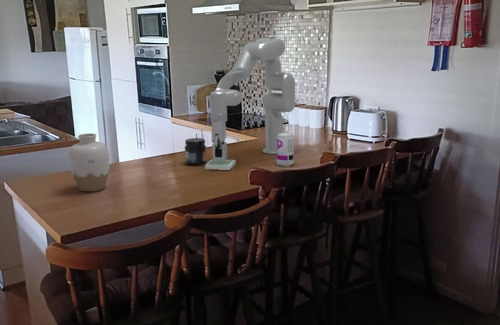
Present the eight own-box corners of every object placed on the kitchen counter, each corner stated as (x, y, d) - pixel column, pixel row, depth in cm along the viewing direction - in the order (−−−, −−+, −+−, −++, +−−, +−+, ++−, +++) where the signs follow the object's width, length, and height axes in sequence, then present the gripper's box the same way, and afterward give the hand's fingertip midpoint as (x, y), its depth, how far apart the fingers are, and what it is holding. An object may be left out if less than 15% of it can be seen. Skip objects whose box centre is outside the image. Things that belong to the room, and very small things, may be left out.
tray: (211, 163, 239) (211, 159, 238) (235, 164, 237) (235, 159, 236) (205, 170, 228) (204, 165, 227) (230, 171, 225) (229, 166, 225)
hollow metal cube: (215, 157, 234) (215, 141, 232) (227, 157, 233) (226, 142, 231) (212, 159, 229) (212, 144, 227) (224, 160, 228) (223, 144, 226)
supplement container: (209, 161, 244) (208, 138, 241) (202, 166, 234) (201, 142, 231) (190, 160, 247) (189, 137, 244) (182, 165, 237) (180, 141, 234)
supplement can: (280, 167, 230) (279, 136, 227) (274, 163, 238) (274, 133, 234) (296, 165, 232) (296, 135, 229) (290, 161, 240) (290, 132, 236)
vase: (98, 181, 213) (93, 130, 208) (119, 187, 203) (115, 133, 198) (64, 190, 201) (58, 136, 196) (86, 197, 192) (80, 140, 186)
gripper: (215, 115, 235) (217, 151, 240) (206, 120, 219) (207, 159, 223) (230, 115, 234) (231, 151, 238) (222, 120, 217) (223, 160, 222)
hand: (220, 155), depth 231 cm, fingers closed on hollow metal cube, 5 cm apart
